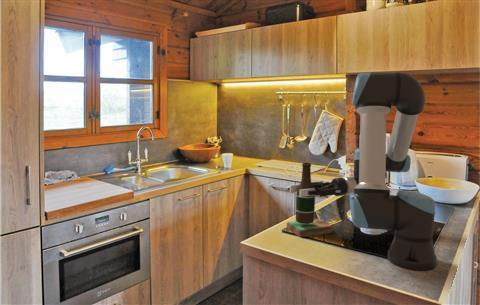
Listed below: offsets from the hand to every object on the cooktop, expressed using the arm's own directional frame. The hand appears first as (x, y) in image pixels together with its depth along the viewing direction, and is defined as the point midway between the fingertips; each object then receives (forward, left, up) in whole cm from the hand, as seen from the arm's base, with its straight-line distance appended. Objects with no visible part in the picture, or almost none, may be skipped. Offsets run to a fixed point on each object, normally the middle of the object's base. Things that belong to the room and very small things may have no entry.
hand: (295, 190), depth 156 cm
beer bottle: (0, -5, -13) cm, 14 cm away
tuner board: (+1, -7, -17) cm, 19 cm away
